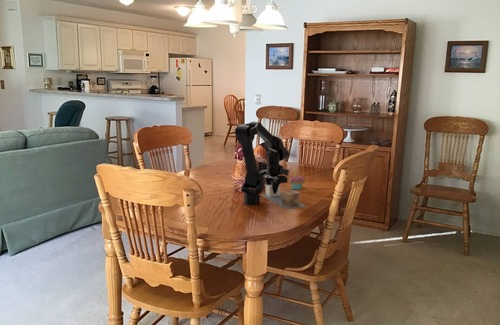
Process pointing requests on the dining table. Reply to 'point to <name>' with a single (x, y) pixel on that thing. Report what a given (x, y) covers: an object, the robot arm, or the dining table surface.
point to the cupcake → (296, 181)
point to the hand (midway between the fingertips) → (272, 192)
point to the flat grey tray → (277, 197)
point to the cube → (290, 198)
